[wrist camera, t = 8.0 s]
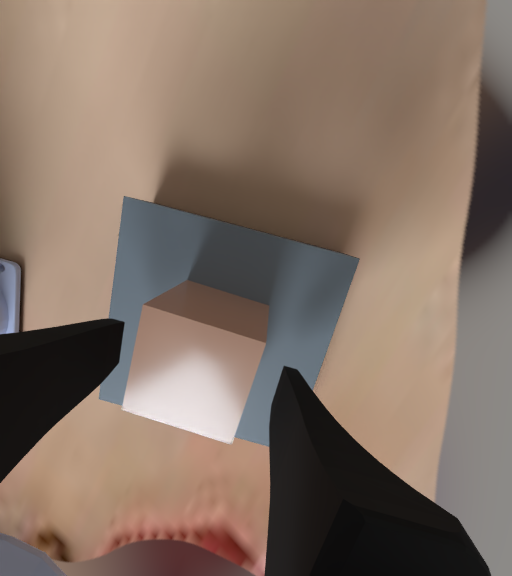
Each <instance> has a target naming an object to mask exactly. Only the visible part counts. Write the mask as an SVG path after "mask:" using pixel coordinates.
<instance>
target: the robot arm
mask: <svg viewBox="0 0 512 576" xmlns="http://www.w3.org/2000/svg"><path fill="white" fill-rule="evenodd" d="M4 267H5V269H4ZM20 283H21V268H20V266H19V265H18V264H17V263H15V262H12V261H9V260H5V259H1V258H0V483H1V482H2V480H3V479H4V478H5V477H6V476H7V475H8V474H9V473H10V472H11V470H12V469H13V468H14V467H15V466H16V465H17V464H18V463H19V462H20V460H21V459H22V458H23V457H24V456H25V455H26V454H27V453H28V452H29V451H30V450H31V449H32V448H33V447H34V446H35V444H36V443H37V442H38V441H39V440H40V439H41V438H42V437H43V436H44V435H45V434H46V433H47V432H48V431H49V430H50V429H51V428H52V427H53V426H54V425H55V424H56V423H58V422H59V421H60V420H61V419H62V418H63V417H64V416H65V415H66V414H68V413H69V412H70V411H71V410H72V409H73V408H74V407H75V406H77V405H78V404H79V403H80V402H81V401H82V400H83V399H84V398H86V397H87V396H88V395H89V394H90V393H91V392H92V391H93V390H94V389H96V388H97V387H98V386H99V385H100V384H101V383H102V382H103V381H104V380H105V379H106V378H107V377H108V376H109V374H110V373H111V372H112V371H113V370H114V368H115V367H116V366H117V365H118V364H119V360H120V353H121V346H122V339H123V332H124V325H125V322H123V321H119V320H116V319H112V318H110V319H100V320H93V321H87V322H81V323H76V324H70V325H64V326H58V327H52V328H45V329H39V330H32V331H25V332H19V314H20ZM269 450H270V509H269V525H268V539H267V552H266V565H265V576H491V574H490V571H489V568H488V566H487V564H486V562H485V561H484V559H483V558H482V556H481V555H480V553H479V552H478V550H477V548H476V547H475V545H474V543H473V542H472V540H471V539H470V537H469V536H468V534H467V533H466V531H465V529H464V528H463V526H462V524H461V523H460V521H459V520H458V519H457V518H456V517H455V516H453V515H452V514H450V513H449V512H447V511H446V510H444V509H443V508H441V507H440V506H438V505H437V504H435V503H434V502H432V501H431V500H430V499H428V498H427V497H425V496H424V495H422V494H421V493H419V492H418V491H416V490H415V489H414V488H412V487H411V486H410V485H408V484H407V483H406V482H404V481H403V480H402V479H400V478H399V477H398V476H396V475H395V474H394V473H392V472H391V471H390V470H389V469H388V468H386V467H385V466H384V465H383V464H381V463H380V462H379V461H378V460H377V459H375V458H374V457H373V456H372V455H371V454H370V453H369V452H368V451H366V450H365V449H364V448H363V447H362V446H361V445H360V444H359V443H358V442H357V441H356V440H355V439H353V437H352V436H351V435H350V434H349V433H348V432H347V431H346V430H345V429H344V428H343V427H342V426H341V425H340V424H339V423H338V422H337V421H336V420H335V418H334V417H333V416H332V415H331V414H330V413H329V411H328V410H327V409H326V408H325V406H324V405H323V404H322V403H321V401H320V400H319V399H318V397H317V396H316V395H315V393H314V392H313V391H312V389H311V388H310V386H309V385H308V383H307V382H306V381H305V379H304V378H303V376H302V375H301V373H300V372H299V371H298V369H294V368H291V367H287V366H283V369H282V373H281V376H280V379H279V382H278V385H277V388H276V392H275V395H274V398H273V401H272V404H271V412H270V422H269ZM0 576H66V574H65V573H64V572H63V571H62V570H61V569H60V568H59V567H58V566H57V565H56V564H55V563H54V561H53V560H52V559H51V558H50V557H49V556H48V555H47V554H46V553H45V552H43V551H41V550H39V549H37V548H35V547H33V546H31V545H29V544H27V543H25V542H23V541H21V540H19V539H17V538H15V537H12V536H9V535H6V534H2V533H0Z"/></svg>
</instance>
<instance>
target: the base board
mask: <svg viewBox="0 0 512 576" xmlns="http://www.w3.org/2000/svg"><path fill="white" fill-rule="evenodd" d="M358 262H359V258H356V257H353V256H350V255H347V254H344V253H340V252H336V251H332V250H329V249H325V248H321V247H317V246H314V245H310V244H306V243H302V242H299V241H295V240H291V239H287V238H284V237H280V236H276V235H272V234H269V233H265V232H261V231H257V230H253V229H250V228H246V227H242V226H238V225H235V224H231V223H227V222H223V221H220V220H216V219H212V218H208V217H205V216H201V215H197V214H193V213H190V212H186V211H182V210H178V209H175V208H171V207H167V206H163V205H160V204H156V203H152V202H148V201H143V200H139V199H134V198H130V197H126V196H124V199H123V207H122V215H121V223H120V231H119V239H118V248H117V256H116V264H115V272H114V280H113V288H112V296H111V304H110V312H109V319H110V318H112V319H116V320H119V321H123V322H125V325H124V332H123V339H122V346H121V353H120V360H119V364H118V365H117V366H116V367H115V368H114V370H113V371H112V372H111V373H110V374H109V376H108V377H107V378H106V379H105V380H104V381H103V382H102V383H101V385H100V393H99V399H100V400H104V401H108V402H111V403H115V404H118V405H123V400H124V395H125V391H126V386H127V381H128V376H129V371H130V366H131V361H132V356H133V351H134V346H135V341H136V336H137V331H138V326H139V321H140V316H141V311H142V306H143V304H144V303H146V302H148V301H150V300H152V299H153V298H155V297H157V296H159V295H161V294H162V293H164V292H166V291H168V290H170V289H172V288H173V287H175V286H177V285H179V284H181V283H182V282H184V281H186V280H189V281H192V282H196V283H199V284H202V285H205V286H208V287H212V288H215V289H218V290H221V291H224V292H227V293H231V294H234V295H237V296H240V297H243V298H247V299H250V300H253V301H256V302H259V303H262V304H266V305H269V315H268V328H267V340H266V345H265V348H264V351H263V354H262V357H261V360H260V363H259V366H258V369H257V372H256V375H255V378H254V381H253V383H252V386H251V389H250V392H249V395H248V398H247V401H246V404H245V407H244V410H243V413H242V416H241V419H240V422H239V424H238V427H237V430H236V433H235V436H234V437H236V438H240V439H244V440H247V441H251V442H254V443H258V444H261V445H265V446H269V422H270V412H271V404H272V401H273V398H274V395H275V392H276V388H277V385H278V382H279V379H280V376H281V373H282V369H283V366H287V367H291V368H294V369H298V371H299V372H300V373H301V375H302V376H303V378H304V379H305V381H306V382H307V383H308V385H309V386H310V388H311V389H312V391H313V388H314V385H315V382H316V379H317V377H318V374H319V371H320V368H321V366H322V363H323V360H324V357H325V354H326V352H327V349H328V346H329V343H330V340H331V338H332V335H333V332H334V329H335V326H336V324H337V321H338V318H339V315H340V312H341V310H342V307H343V304H344V301H345V299H346V296H347V293H348V290H349V287H350V285H351V282H352V279H353V276H354V273H355V271H356V268H357V265H358Z"/></svg>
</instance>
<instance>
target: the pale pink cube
mask: <svg viewBox="0 0 512 576" xmlns="http://www.w3.org/2000/svg"><path fill="white" fill-rule="evenodd" d="M268 315H269V305H266V304H262V303H259V302H256V301H253V300H250V299H247V298H243V297H240V296H237V295H234V294H231V293H227V292H224V291H221V290H218V289H215V288H212V287H208V286H205V285H202V284H199V283H196V282H192V281H189V280H186V281H184V282H182V283H181V284H179V285H177V286H175V287H173V288H172V289H170V290H168V291H166V292H164V293H162V294H161V295H159V296H157V297H155V298H153V299H152V300H150V301H148V302H146V303H144V304H143V306H142V311H141V316H140V321H139V326H138V331H137V336H136V341H135V346H134V351H133V356H132V361H131V366H130V371H129V376H128V381H127V386H126V391H125V395H124V400H123V405H122V410H124V411H127V412H131V413H134V414H137V415H140V416H143V417H146V418H150V419H153V420H156V421H159V422H162V423H165V424H168V425H172V426H175V427H178V428H181V429H184V430H187V431H190V432H194V433H197V434H200V435H203V436H206V437H209V438H213V439H216V440H219V441H222V442H225V443H228V444H231V445H232V442H233V439H234V436H235V433H236V430H237V427H238V424H239V422H240V419H241V416H242V413H243V410H244V407H245V404H246V401H247V398H248V395H249V392H250V389H251V386H252V383H253V381H254V378H255V375H256V372H257V369H258V366H259V363H260V360H261V357H262V354H263V351H264V348H265V345H266V340H267V328H268Z"/></svg>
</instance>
